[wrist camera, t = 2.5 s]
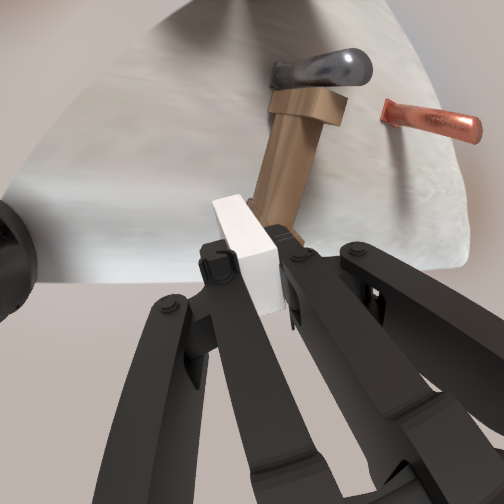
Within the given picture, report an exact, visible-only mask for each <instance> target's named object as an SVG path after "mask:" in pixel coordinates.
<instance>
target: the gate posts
mask: <svg viewBox="0 0 504 504" xmlns="http://www.w3.org/2000/svg"><path fill="white" fill-rule="evenodd" d="M372 74H373V67H372V63H371V60H370V58H369V57H368V56H367V54H365V53H364V52H363V51H361V50H359V49H356V48H350V49H345V50H340V51H336V52H332V53H327V54H323V55H319V56H315V57H312V58H308V59H304V60H301V61H297V62H294V63H290V64H285V63H282V62H279V61H276V64H275V67H274V70H273V74H272V77H271V81H270V85H269V86H271V87H274V88H277V89H280V90H289V89H300V88H314V87H334V86H362V85H365V84H367V83H368V82H369V81H370V79H371V77H372ZM380 120H382V121H385V122H387V123H389V124H391V125H393V126H395V127H397V128H399V125H401V126H406V127H411V128H415V129H419V130H424V131H428V132H432V133H436V134H440V135H443V136H447V137H451V138H454V139H458V140H461V141H464V142H468V143H472V144H478V143H479V142H480V140H481V138H482V132H483V129H482V124H481V121H480V120H479V118H477V117H473V116H469V115H464V114H459V113H455V112H449V111H444V110H438V109H432V108H426V107H419V106H412V105H404V104H397V103H395V102H393V101H391V100H389V99H386V100H385V104H384V108H383V111H382V115H381V119H380Z"/></svg>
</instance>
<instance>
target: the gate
mask: <svg viewBox="0 0 504 504" xmlns="http://www.w3.org/2000/svg"><path fill="white" fill-rule="evenodd" d="M347 100H348V98H347V97H344V96H342V95H339V94H337V93H335V92H332V91H330V90H327V89H325V88H322V87H314V88H300V89H289V90H279V91H273V93H272V97H271V100H270V104H269V108H268V111H267V112H270V113H274V114H276V115H275V119H274V122H273V126H272V130H271V133H270V137H269V140H268V144H267V148H266V151H265V155H264V159H263V162H262V166H261V170H260V173H259V177H258V181H257V184H256V188H255V192H254V196H253V199H252V198H249V199H248V201H247V203H246V204H247V206H248V207H249V209H250V210H251V211H252V213H253V214H254V216H255V217H256V218H257V220H258V221H259V223H260V224H261V226H262V227H267V226H271V225H275V224H280V225H282V226H285V227H286V228H287V229H288V230H289V231H290V233H292V234H293V236H294V237H295V238H296V239H297V240H298V241H299V243H300V244H301V245H302V246H304V243H305V241H304V240H303V239H302V238H301V237H300V236H299V235H298V234H297V232H296V231H295V230H294V229H293V228H292V226H293V223H294V220H295V217H296V214H297V210H298V207H299V204H300V201H301V198H302V194H303V191H304V188H305V185H306V181H307V178H308V175H309V172H310V168H311V165H312V162H313V158H314V155H315V152H316V148H317V145H318V141H319V138H320V135H321V131H322V128H323V124H329V125H335V126H340V125H341V121H342V118H343V114H344V111H345V107H346V104H347Z"/></svg>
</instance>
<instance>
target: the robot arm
mask: <svg viewBox="0 0 504 504" xmlns="http://www.w3.org/2000/svg"><path fill="white" fill-rule="evenodd" d="M212 204H213V208H214V212H215V216H216V220H217V224H218V228H219V232H220V237H221V240H218V241H214V242H211V243H207V244H203V246H202V247H201V249H200V256H201V258H200V260H199V263H198V265H199V268H200V271H201V274H202V277H203V281H204V284H205V286H204V288H203V289H202V290H201V292H199V293H198V294H197V295H195V296H193V297H191V298H190V299H187V298H186V297H185V296H183V295H180V294H172V295H168V296H165V297H163V298H161V299H159V300H158V301H157V302H156V303H154V305H153V307H152V308H151V311H150V314H149V316H148V319H147V321H146V324H145V327H144V329H143V332H142V335H141V338H140V340H139V343H138V346H137V349H136V352H135V354H134V358H133V360H132V363H131V367H130V369H129V372H128V375H127V378H126V381H125V384H124V387H123V390H122V393H121V397H120V400H119V403H118V406H117V410H116V413H115V416H114V419H113V423H112V426H111V430H110V433H109V437H108V440H107V444H106V448H105V452H104V455H103V459H102V463H101V467H100V471H99V475H98V479H97V483H96V488H95V492H94V496H93V501H92V504H193V499H194V487H195V477H196V467H197V455H198V447H199V437H200V427H201V419H202V410H203V401H204V393H205V385H206V376H207V368H208V359H209V354H208V352H210V351H211V350H213V349H215V348H217V347H218V348H219V353H220V357H221V362H222V365H223V370H224V374H225V378H226V382H227V386H228V390H229V394H230V398H231V402H232V406H233V410H234V413H235V417H236V421H237V425H238V428H239V432H240V436H241V439H242V443H243V447H244V450H245V454H246V457H247V461H248V464H249V468H250V479H251V484H252V487H253V491H254V495H255V498H256V501H257V504H504V450H501V449H497V448H494V447H493V446H492V445H491V443H490V442H489V440H488V439H487V438H486V436H485V435H484V433H483V432H482V431H481V429H480V428H479V427H478V425H477V424H476V423H475V422H474V420H473V419H472V417H471V416H470V415H469V413H470V414H471V415H472V416H474V417H475V418H476V419H477V420H479V421H480V422H482V423H483V424H484V425H485V426H487V427H488V428H490V429H491V430H493V431H495V432H497V433H499V434H501V435H503V436H504V320H502V319H501V318H499V317H498V316H496V315H494V314H493V313H491V312H490V311H488V310H486V309H485V308H483V307H481V306H480V305H478V304H476V303H475V302H473V301H471V300H469V299H468V298H466V297H465V296H463V295H461V294H460V293H458V292H456V291H454V290H453V289H451V288H449V287H447V286H446V285H444V284H442V283H440V282H439V281H437V280H435V279H433V278H432V277H430V276H428V275H426V274H424V273H422V272H421V271H419V270H417V269H415V268H414V267H412V266H410V265H408V264H406V263H404V262H402V261H401V260H399V259H397V258H395V257H393V256H391V255H389V254H387V253H385V252H384V251H382V250H380V249H378V248H376V247H374V246H372V245H370V244H367V243H364V242H351V243H348V244H345V245H344V246H342V247H341V249H340V256H332V257H321V256H320V255H319V254H318V252H316V251H315V250H314V249H311V248H304V247H303V246H302V245H301V244H300V243H299V241H298V240H297V239H296V238H295V237H294V236H293V234H292V233H290V231H289V230H288V229H287V228H286V227H285V226H282V225H280V224H275V225H271V226H267V227H262V226H261V224H260V223H259V221H258V220H257V218H256V217H255V216H254V214H253V213H252V211H251V210H250V209H249V207H248V206H247V204H246V203H245V202H244V200H243V199H242V197H241V196H240V194H237V195H233V196H229V197H225V198H222V199H218V200H214V201H212ZM36 276H37V259H36V253H35V249H34V245H33V242H32V240H31V237H30V235H29V233H28V231H27V229H26V227H25V225H24V224H23V222H22V221H21V219H20V218H19V217H18V215H17V214H16V213H15V212H14V211H13V210H12V209H11V208H10V207H9V206H8V205H7V204H5V203H4V202H3V201H1V200H0V322H1V321H3V320H4V319H5V318H6V317H7V316H8V315H9V314H12V313H13V312H15V311H17V310H18V309H19V308H20V307H21V306H22V305H23V304H24V303H25V301H26V300H27V298H28V296H29V294H30V293H31V291H32V289H33V287H34V284H35V281H36ZM373 288H374V289H376V290H377V291H379V296H376V295H375V294H373ZM285 300H286V301H287V303H288V305H289V312H290V319H291V327H292V330H294V329H295V327H294V325H295V326H296V328H297V330H298V331H299V333H300V335H301V337H302V339H303V341H304V342H305V345H306V346H307V348H308V350H309V352H310V354H311V356H312V357H313V359H314V361H315V363H316V365H317V367H318V369H319V371H320V373H321V374H322V376H323V378H324V380H325V382H326V384H327V386H328V387H329V389H330V391H331V393H332V395H333V397H334V399H335V401H336V403H337V404H338V406H339V408H340V410H341V412H342V414H343V416H344V418H345V419H346V421H347V423H348V425H349V427H350V429H351V430H352V433H353V434H354V436H355V438H356V440H357V442H358V444H359V445H360V447H361V450H362V451H363V453H364V455H365V457H366V459H367V462H368V466H369V473H370V476H371V479H372V481H373V483H374V485H375V487H376V489H377V491H374V492H370V493H366V494H361V495H357V496H351V497H346V498H343V496H342V494H341V492H340V490H339V488H338V485H337V483H336V481H335V479H334V477H333V475H332V472H331V470H330V468H329V467H328V464H327V462H326V460H325V459H324V457H323V456H322V454H321V453H319V452H318V451H317V449H316V447H315V445H314V443H313V441H312V439H311V437H310V434H309V432H308V430H307V427H306V425H305V423H304V421H303V418H302V416H301V414H300V412H299V409H298V407H297V405H296V403H295V400H294V398H293V395H292V393H291V391H290V388H289V386H288V384H287V382H286V379H285V377H284V375H283V372H282V370H281V368H280V365H279V363H278V361H277V358H276V356H275V353H274V351H273V349H272V346H271V345H270V342H269V339H268V337H267V335H266V332H265V330H264V328H263V325H262V323H261V320H260V318H259V316H263V315H266V314H269V313H272V312H276V311H279V310H282V309H286V304H285ZM419 373H420V374H421V375H422V376H424V377H425V378H426V379H427V380H429V381H430V382H431V383H432V384H434V385H435V386H436V387H438V388H439V389H440V390H441V391H442V392H435V391H433V390H432V389H431V388H430V387H429V385H428V384H427V383H426V382H425V380H424V379H423V378H422V376H421V375H420V374H419ZM468 412H469V413H468Z"/></svg>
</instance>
